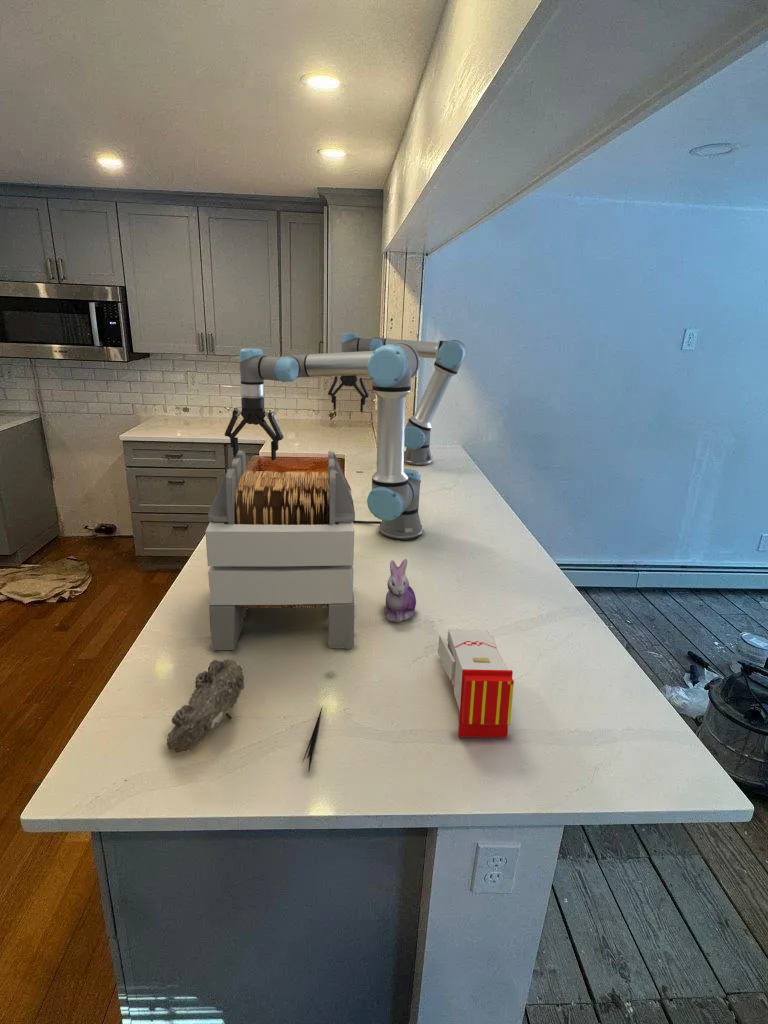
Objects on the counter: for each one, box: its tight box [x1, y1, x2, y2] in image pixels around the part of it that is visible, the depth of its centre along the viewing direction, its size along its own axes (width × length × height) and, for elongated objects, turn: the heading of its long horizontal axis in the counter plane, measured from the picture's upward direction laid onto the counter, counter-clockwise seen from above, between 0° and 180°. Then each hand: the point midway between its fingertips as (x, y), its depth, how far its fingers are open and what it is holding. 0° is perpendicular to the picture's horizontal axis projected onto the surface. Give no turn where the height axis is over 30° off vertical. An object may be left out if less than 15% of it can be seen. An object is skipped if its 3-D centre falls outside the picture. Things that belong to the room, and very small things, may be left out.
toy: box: [437, 628, 515, 738], centre depth 117 cm, size 12×13×30 cm
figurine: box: [384, 558, 417, 623], centre depth 145 cm, size 9×10×15 cm
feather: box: [301, 673, 332, 771], centre depth 108 cm, size 2×28×2 cm
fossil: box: [166, 658, 245, 754], centre depth 106 cm, size 22×10×15 cm
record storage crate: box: [204, 449, 356, 652], centre depth 138 cm, size 34×33×41 cm
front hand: (254, 458), depth 197 cm, fingers open, 13 cm apart
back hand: (348, 410), depth 281 cm, fingers open, 13 cm apart
